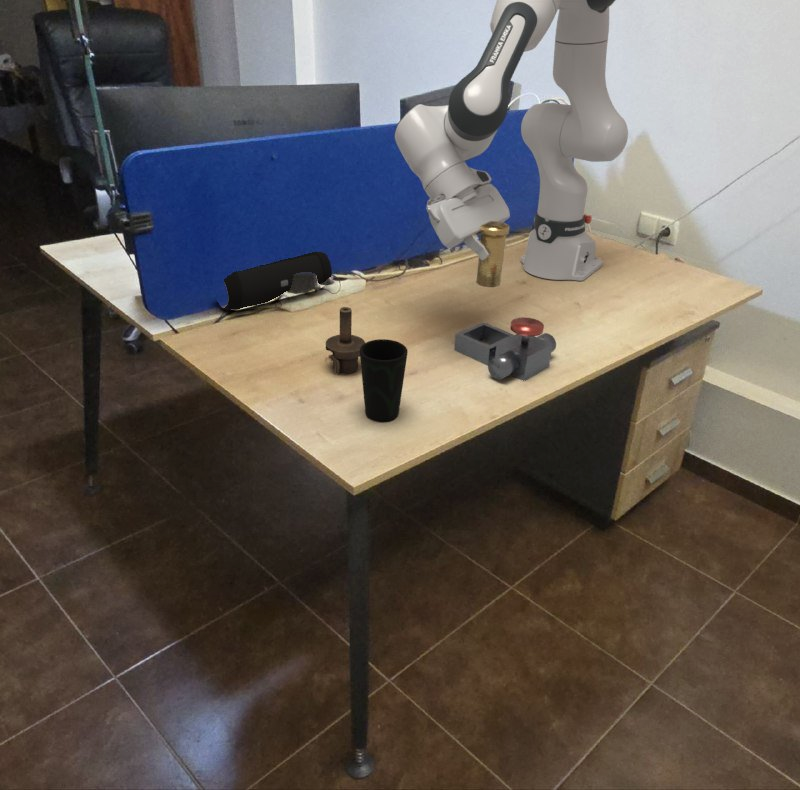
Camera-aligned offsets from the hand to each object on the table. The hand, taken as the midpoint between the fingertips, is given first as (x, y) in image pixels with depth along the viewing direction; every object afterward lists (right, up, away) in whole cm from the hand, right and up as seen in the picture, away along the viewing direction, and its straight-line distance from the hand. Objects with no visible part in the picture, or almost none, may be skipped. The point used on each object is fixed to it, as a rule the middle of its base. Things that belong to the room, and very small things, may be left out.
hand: (494, 253), depth 129 cm
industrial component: (-27, -21, +2) cm, 34 cm away
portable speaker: (-46, -5, +28) cm, 54 cm away
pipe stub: (-1, -5, +3) cm, 6 cm away
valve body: (+2, -19, +7) cm, 20 cm away
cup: (-20, -29, -11) cm, 38 cm away
